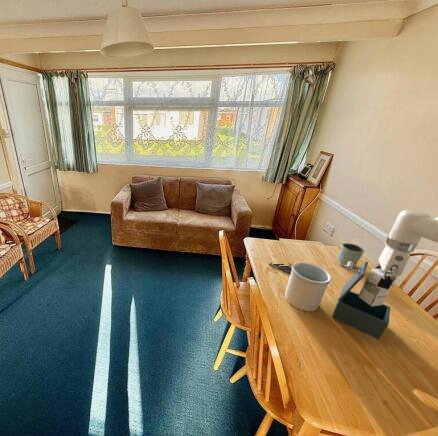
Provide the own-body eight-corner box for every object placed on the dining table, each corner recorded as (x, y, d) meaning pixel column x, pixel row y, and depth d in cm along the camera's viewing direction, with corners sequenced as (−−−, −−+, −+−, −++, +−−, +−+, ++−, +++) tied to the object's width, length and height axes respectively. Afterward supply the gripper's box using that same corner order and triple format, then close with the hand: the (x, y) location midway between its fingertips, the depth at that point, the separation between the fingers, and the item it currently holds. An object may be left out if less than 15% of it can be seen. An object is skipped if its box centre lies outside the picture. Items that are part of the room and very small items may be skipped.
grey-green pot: (335, 265, 137) (342, 248, 132) (334, 257, 144) (341, 241, 139) (357, 271, 131) (366, 253, 127) (355, 263, 139) (363, 246, 134)
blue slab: (368, 262, 97) (352, 254, 100) (364, 275, 89) (347, 266, 92) (345, 288, 105) (331, 280, 109) (339, 301, 97) (325, 293, 101)
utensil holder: (307, 317, 101) (319, 286, 94) (276, 296, 113) (285, 267, 106) (325, 305, 107) (338, 276, 100) (294, 286, 119) (304, 258, 112)
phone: (273, 257, 142) (300, 268, 132) (273, 258, 142) (299, 270, 132) (268, 262, 137) (295, 274, 127) (267, 263, 138) (294, 275, 127)
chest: (381, 322, 99) (390, 306, 95) (379, 339, 91) (388, 324, 88) (337, 302, 109) (343, 288, 106) (331, 317, 101) (338, 302, 98)
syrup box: (382, 305, 93) (399, 276, 87) (370, 307, 92) (386, 278, 86) (368, 295, 98) (382, 267, 92) (356, 296, 97) (370, 269, 91)
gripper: (423, 257, 75) (399, 298, 82) (407, 236, 88) (388, 273, 95) (392, 250, 79) (371, 290, 86) (381, 231, 92) (364, 267, 99)
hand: (380, 281), depth 91 cm, fingers closed on syrup box, 8 cm apart
